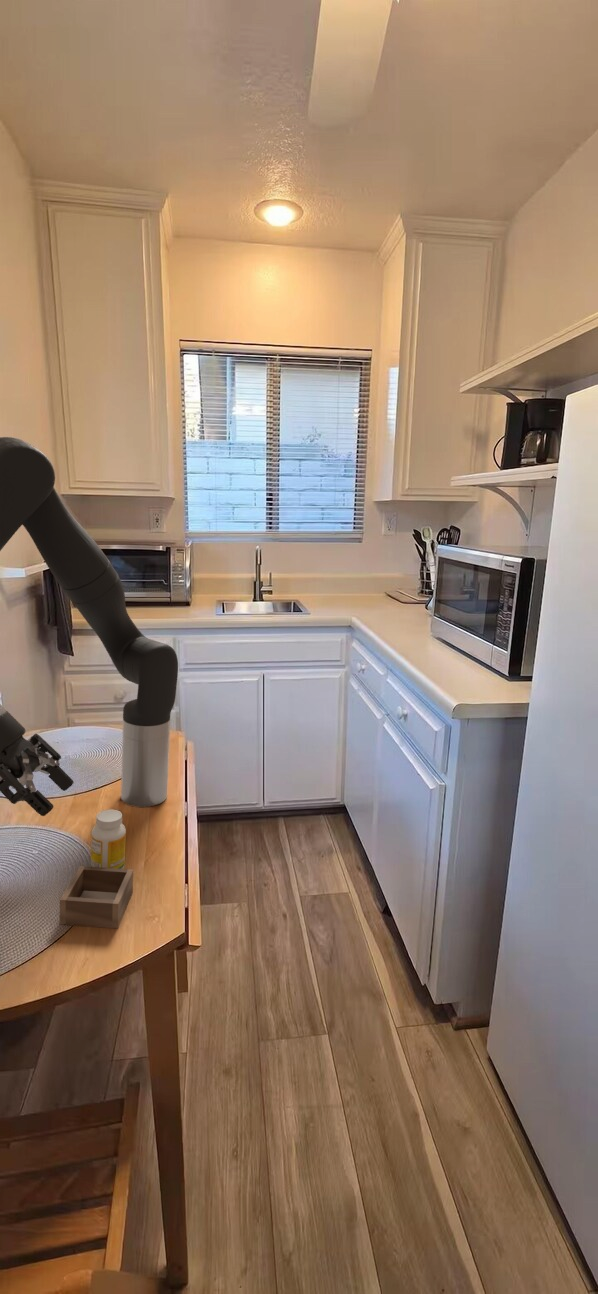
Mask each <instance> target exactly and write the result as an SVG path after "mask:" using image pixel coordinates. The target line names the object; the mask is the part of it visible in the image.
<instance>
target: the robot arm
mask: <svg viewBox="0 0 598 1294" xmlns="http://www.w3.org/2000/svg"><path fill="white" fill-rule="evenodd" d="M55 482H56V474H55V469H54V466H53V463H52V462H51V460H50V459H49V458H48V456H46V454H45V453H43V452H42V451H41V450H40V449H38V448H37V447H35V446H33V445H32V444H31V443H29V442H27V441H25V440H23V439H20V438H16V437H12V436H11V437H10V436H2V437H0V552H1V551H2V550H3V549H4V547H5V546H6V544H7V543H8V542H9V541H10V540H11V539H12V538H13V536H14V535H15V533H16V532H17V531H18V530H19V529H20V528H21V527H22V526H23V528H24V529H25V530H26V532H27V533H28V535H29V536H30V538H31V540H32V541H33V543H34V545H35V546H36V548H37V550H38V553H39V554H40V556H41V557H42V559H43V561H44V563H45V564H46V566H47V568H48V569H49V571H50V573H51V574H52V575H53V577H54V579H55V580H56V581H57V583H58V585H59V586H60V587H61V589H62V590H63V592H64V593H65V594H66V596H67V598H69V601H70V602H71V603H72V604H73V605H74V606H75V608H76V609H77V611H79V612H78V613H80V614H81V615H82V617H83V619H84V620H85V621H86V622H87V624H88V625H89V626H90V628H91V629H92V630H93V631H94V633H95V634H96V635H97V637H98V638H99V640H100V642H101V643H102V645H103V647H104V649H105V650H106V652H107V654H108V655H109V658H110V659H111V661H112V664H113V665H114V667H115V668H116V670H117V672H118V674H120V675H121V676H122V678H123V679H125V680H127V681H128V682H131V683H132V684H136V685H137V687H138V688H137V695H136V699H131V700H129V701H126V703H125V704H124V706H123V710H122V741H121V742H122V747H121V749H122V750H121V751H122V752H121V783H120V786H121V787H120V799H121V801H122V802H123V803H125V804H126V805H128V806H131V807H138V808H146V807H147V808H148V807H149V808H150V807H154V806H157V805H159V804H161V803H163V802H164V801H165V800H166V799H167V797H168V780H169V760H170V759H169V755H170V754H169V753H170V739H171V738H170V730H171V713H172V710H173V708H174V705H175V702H176V696H177V684H178V675H179V674H178V673H179V661H178V659H179V658H178V655H177V653H176V651H175V649H174V648H173V647H172V646H170V645H169V644H166V643H163V642H161V641H157V640H154V639H150V638H148V637H146V636H145V635H144V634H143V633H142V632H141V631H140V629H139V628H138V627H137V626H136V624H135V623H134V622H133V620H132V619H131V617H130V615H129V613H128V611H127V606H126V598H125V597H126V595H125V589H124V584H123V582H122V581H121V580H122V579H121V578H120V576H119V574H118V572H117V571H116V570H115V568H114V566H113V564H112V562H111V561H110V560H109V559H108V557H107V555H106V554H105V553H104V552H103V550H102V549H101V548H100V546H99V545H98V543H97V542H96V540H94V539H93V537H92V536H91V535H90V533H88V532H87V530H86V529H85V528H84V527H83V526H82V525H81V523H79V522H78V521H77V520H76V518H75V517H74V516H73V515H72V514H71V512H70V511H69V509H68V508H67V507H66V506H65V504H64V503H63V501H62V499H61V497H60V496H59V494H58V492H57V490H56V489H55ZM26 732H27V731H26V728H25V727H24V726H23V725H22V724H21V723H20V722H19V721H18V720H17V719H16V718H15V717H14V716H13V715H12V714H11V713H10V712H9V710H7V709H6V708H5V707H4V706H3V705H2V704H1V703H0V793H1V794H2V795H3V796H4V797H5V798H6V799H7V800H8V801H9V802H10V803H11V804H13V805H16V804H17V803H18V802H25V803H27V804H28V805H29V806H30V807H31V808H32V809H33V810H34V811H35V812H36V813H37V814H38V815H40V816H42V817H45V816H47V815H48V814H49V813H50V812H51V811H52V810H53V809H54V808H55V807H54V804H53V803H52V802H50V800H49V799H47V797H46V796H45V795H43V794H42V793H41V791H40V790H38V789H37V788H36V786H35V783H34V781H33V779H34V773H37V772H40V773H43V774H45V775H48V776H47V777H48V778H49V779H50V780H51V781H53V783H54V784H55V785H56V786H57V787H58V788H59V789H60V790H61V791H64V792H65V791H67V790H68V789H69V788H71V787H72V786H73V784H74V782H75V781H74V780H73V779H72V778H71V777H70V776H69V775H68V774H67V773H66V772H65V770H63V769H62V768H61V766H60V760H61V759H62V757H61V754H60V753H59V752H57V750H55V749H54V748H53V747H52V746H51V745H50V744H49V743H48V742H47V741H46V740H45V739H43V738H42V737H41V736H40V735H39V733H34V734H33V735H31V736H30V737H29V738H28V739H26V738H25V737H23V736H24V735H25V734H26ZM50 756H51V757H50ZM10 788H11V789H12V790H15V793H14V792H13V791H12V790H11V789H10Z"/></svg>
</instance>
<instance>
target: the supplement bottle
mask: <svg viewBox="0 0 598 1294" xmlns="http://www.w3.org/2000/svg"><path fill="white" fill-rule="evenodd" d="M95 817H96V819H95V823H96V824H95V825H94V826H93V828H92V829H91V837H90V838H91V839H90V841H91V842H90V867H102V868H116V869H125V865H126V864H125V860H126V858H125V856H126V838H127V837H126V835H127V833H126V831H127V830H126V826H125V825H124V824H123V813H122V812H121V811H119V810H117V809H104V810H102V811H100V812H98V813H97V814H96V816H95Z"/></svg>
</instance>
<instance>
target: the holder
mask: <svg viewBox="0 0 598 1294" xmlns="http://www.w3.org/2000/svg"><path fill="white" fill-rule="evenodd" d="M73 875H74V876H73V877H72V879H71V881H70V882H69V884H68V886H67V887H66V889H65V891H64V892H63V894H62V896H61V897H60V899H59V925H60V924H67V925H66V926H75V927H92V928H93V927H94V928H107V929H118V928H119V926H120V924H121V922H122V919H123V916H124V915H125V912H126V910H127V908H128V905H129V903H130V899H131V897H132V895H133V892H134V891H133V890H134V869H128V868H123V869H116V868H102V867H91V866H86V865H85V866H83V865H80V866H79V867H78V869H77V870H76V872H75V874H73Z"/></svg>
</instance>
